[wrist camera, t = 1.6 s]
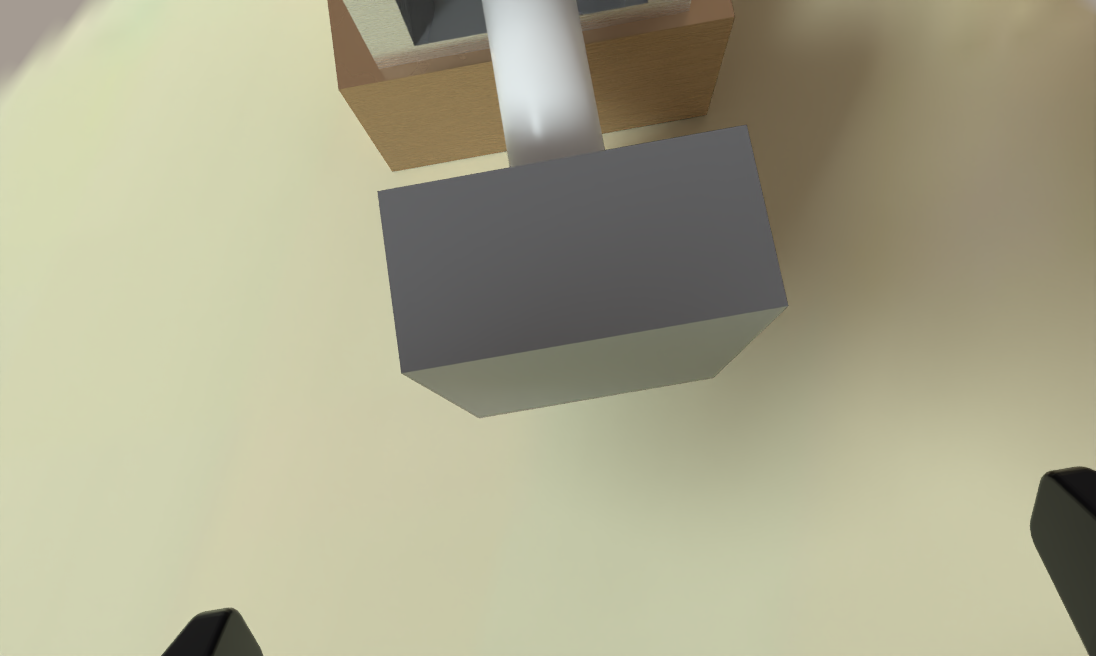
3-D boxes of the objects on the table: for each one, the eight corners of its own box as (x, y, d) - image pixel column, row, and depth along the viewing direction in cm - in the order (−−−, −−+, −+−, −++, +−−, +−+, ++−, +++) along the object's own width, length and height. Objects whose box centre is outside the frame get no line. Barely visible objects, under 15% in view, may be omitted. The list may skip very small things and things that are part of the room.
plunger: (713, 377, 17) (788, 305, 10) (479, 418, 17) (401, 373, 11) (642, 36, 19) (666, -222, 12) (427, 75, 19) (331, -158, 12)
